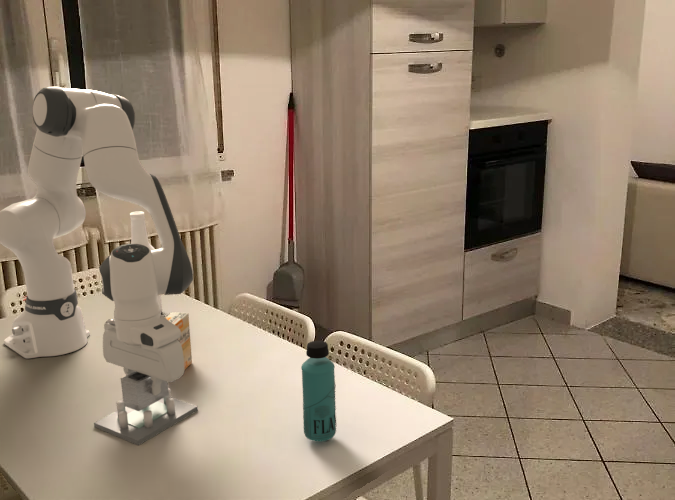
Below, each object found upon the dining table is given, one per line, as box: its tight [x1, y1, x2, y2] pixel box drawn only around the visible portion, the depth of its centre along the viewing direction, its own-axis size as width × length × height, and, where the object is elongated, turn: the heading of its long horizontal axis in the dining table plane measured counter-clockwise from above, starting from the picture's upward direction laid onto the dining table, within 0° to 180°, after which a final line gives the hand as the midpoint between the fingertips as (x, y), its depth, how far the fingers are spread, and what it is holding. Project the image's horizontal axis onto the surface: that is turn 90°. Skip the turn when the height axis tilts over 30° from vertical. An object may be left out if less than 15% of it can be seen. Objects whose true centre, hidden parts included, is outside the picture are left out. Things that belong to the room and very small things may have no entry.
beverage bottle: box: [300, 340, 338, 442], centre depth 133 cm, size 6×7×20 cm
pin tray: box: [93, 387, 198, 446], centre depth 144 cm, size 13×16×4 cm
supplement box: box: [164, 311, 193, 371], centre depth 165 cm, size 8×5×13 cm, turn 168°
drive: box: [120, 371, 169, 411], centre depth 143 cm, size 4×8×6 cm, turn 147°
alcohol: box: [129, 210, 163, 314], centre depth 199 cm, size 9×9×30 cm
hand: (145, 390), depth 143 cm, fingers closed on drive, 4 cm apart
